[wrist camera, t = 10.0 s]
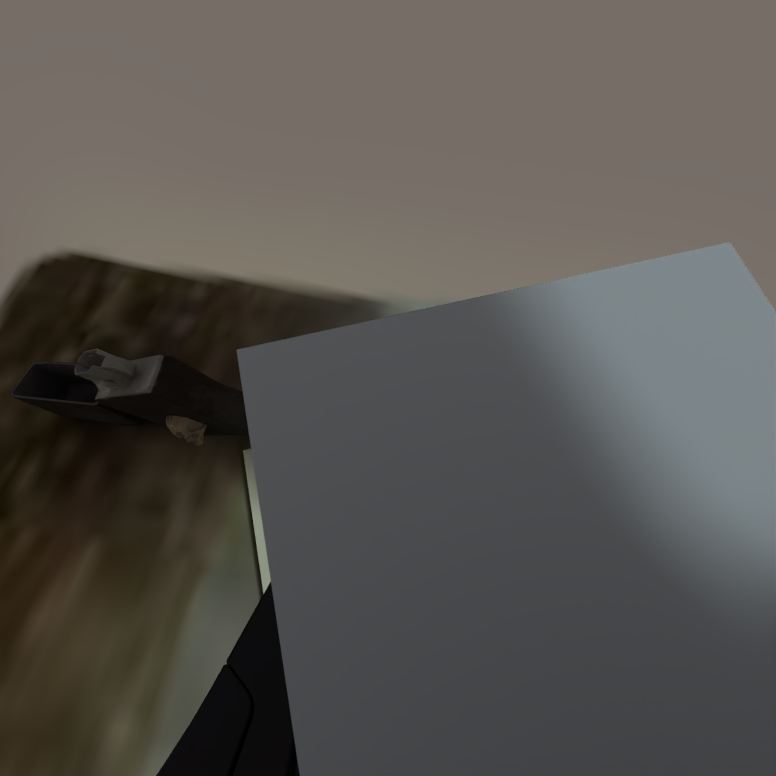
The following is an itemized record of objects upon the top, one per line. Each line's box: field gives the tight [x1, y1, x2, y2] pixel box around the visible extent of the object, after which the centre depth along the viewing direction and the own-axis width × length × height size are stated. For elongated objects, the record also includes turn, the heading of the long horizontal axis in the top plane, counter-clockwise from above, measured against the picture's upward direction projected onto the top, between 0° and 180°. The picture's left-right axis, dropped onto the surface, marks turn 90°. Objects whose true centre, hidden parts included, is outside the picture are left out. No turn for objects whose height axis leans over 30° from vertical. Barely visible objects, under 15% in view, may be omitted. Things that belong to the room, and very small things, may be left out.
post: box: [237, 242, 776, 776], centre depth 9 cm, size 4×4×13 cm
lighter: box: [10, 348, 249, 445], centre depth 18 cm, size 9×2×6 cm
